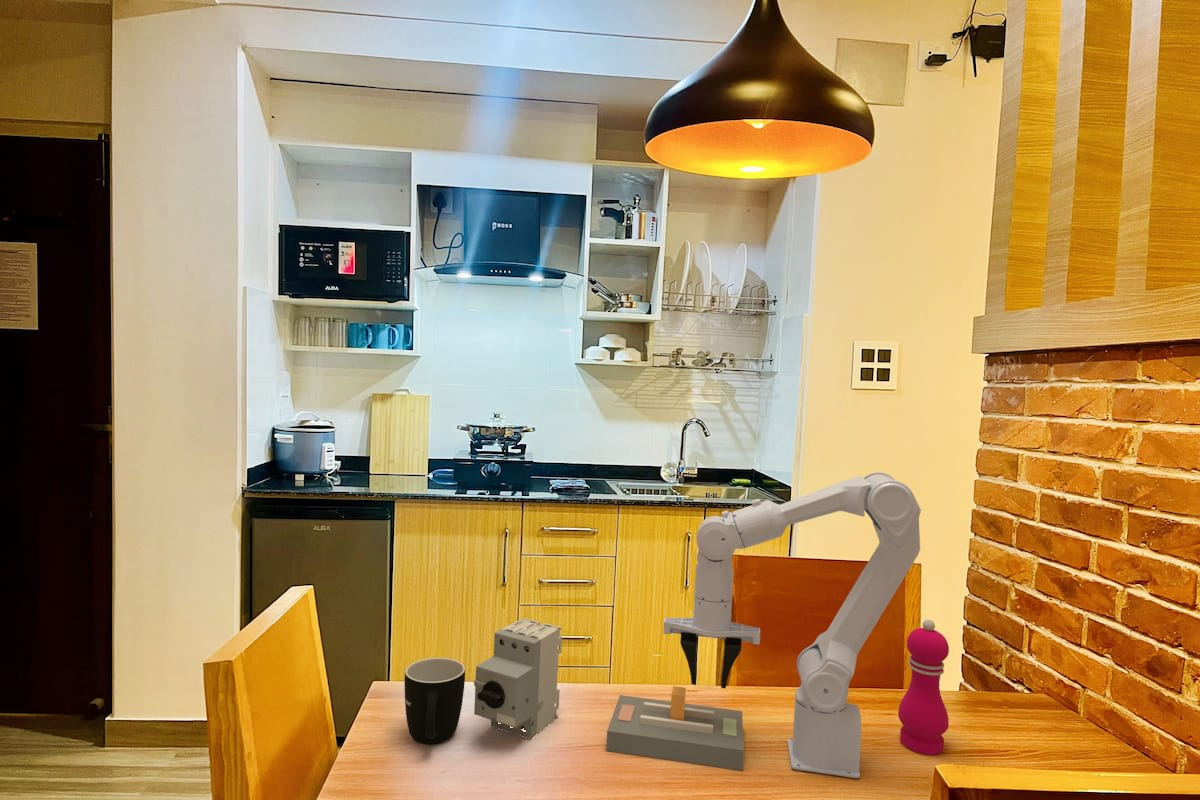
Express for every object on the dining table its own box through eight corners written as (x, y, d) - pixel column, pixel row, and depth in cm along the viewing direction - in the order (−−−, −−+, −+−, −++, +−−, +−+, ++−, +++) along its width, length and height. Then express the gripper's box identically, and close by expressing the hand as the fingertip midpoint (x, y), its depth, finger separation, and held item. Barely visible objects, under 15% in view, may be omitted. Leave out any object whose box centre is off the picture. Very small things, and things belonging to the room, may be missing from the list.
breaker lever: (684, 715, 107) (685, 687, 107) (683, 724, 105) (684, 695, 105) (671, 714, 108) (673, 686, 108) (670, 722, 105) (671, 694, 105)
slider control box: (741, 729, 110) (742, 705, 110) (742, 770, 99) (744, 743, 99) (619, 712, 114) (620, 689, 114) (606, 750, 102) (607, 724, 102)
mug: (405, 720, 108) (408, 657, 108) (463, 718, 110) (466, 656, 110) (396, 763, 97) (398, 693, 96) (460, 760, 98) (463, 691, 98)
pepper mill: (941, 737, 111) (949, 615, 110) (951, 761, 104) (959, 631, 103) (893, 729, 113) (900, 609, 112) (900, 752, 106) (908, 624, 105)
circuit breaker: (466, 743, 102) (470, 645, 102) (520, 705, 115) (524, 617, 115) (507, 758, 99) (511, 656, 99) (558, 717, 112) (562, 626, 111)
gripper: (760, 593, 107) (755, 678, 108) (668, 584, 110) (663, 667, 111) (762, 607, 100) (757, 698, 101) (663, 597, 103) (659, 686, 104)
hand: (708, 683), depth 105 cm, fingers open, 4 cm apart
